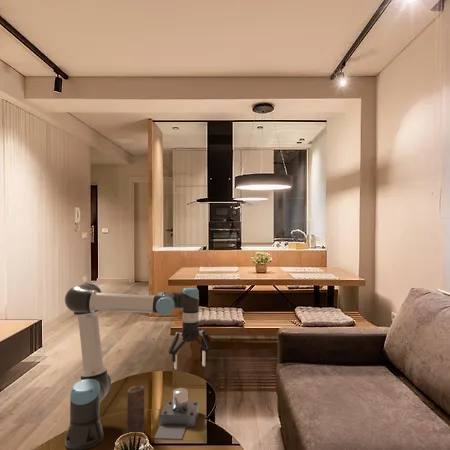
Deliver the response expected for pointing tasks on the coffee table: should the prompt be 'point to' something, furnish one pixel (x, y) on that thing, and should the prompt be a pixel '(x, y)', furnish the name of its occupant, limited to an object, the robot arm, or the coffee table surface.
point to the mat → (170, 432)
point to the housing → (179, 415)
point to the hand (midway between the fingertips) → (189, 367)
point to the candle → (135, 409)
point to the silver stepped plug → (180, 399)
